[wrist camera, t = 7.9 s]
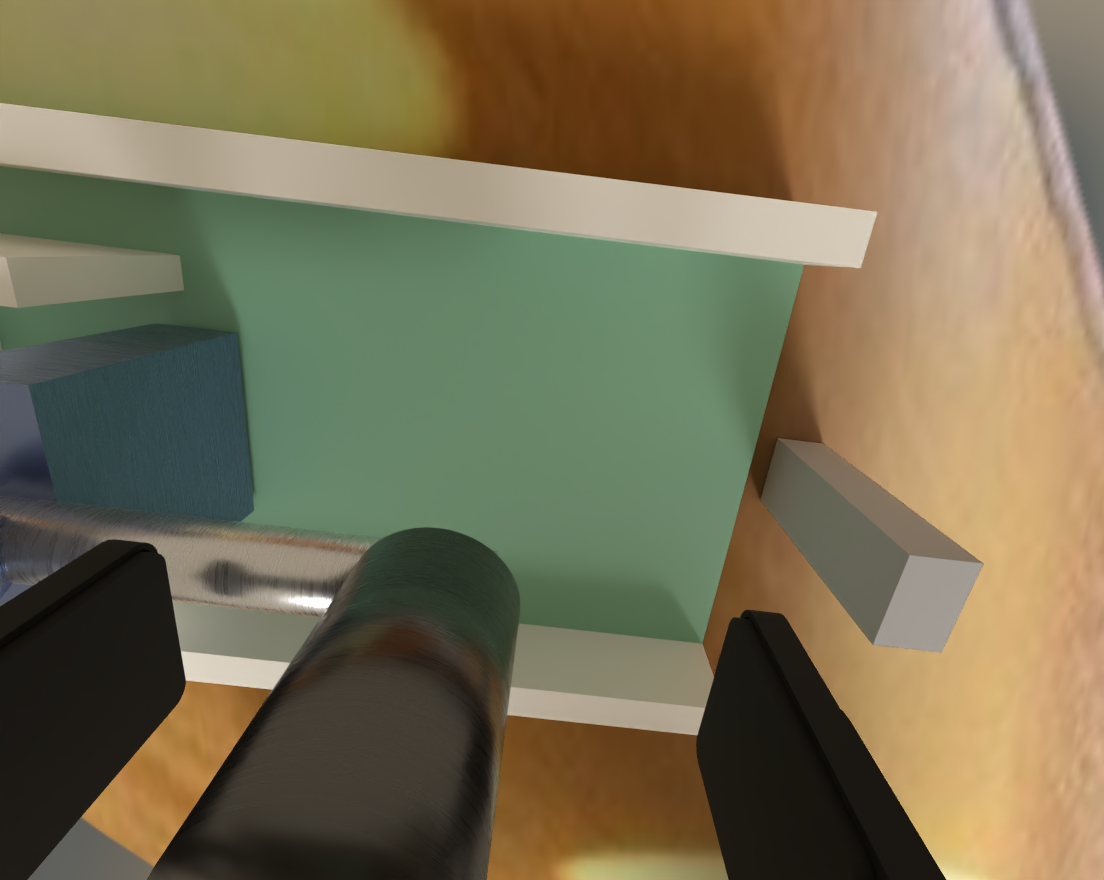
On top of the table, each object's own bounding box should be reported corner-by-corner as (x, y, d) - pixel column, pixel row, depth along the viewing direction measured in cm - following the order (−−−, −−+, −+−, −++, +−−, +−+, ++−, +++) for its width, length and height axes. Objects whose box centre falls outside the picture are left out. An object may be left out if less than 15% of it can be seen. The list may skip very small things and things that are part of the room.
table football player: (549, 369, 16) (502, 720, 4) (530, 541, 18) (461, 1103, 6) (153, 322, 15) (-1120, 546, 4) (180, 502, 17) (-588, 1003, 6)
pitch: (890, 232, 16) (1146, 219, 9) (757, 653, 21) (848, 848, 14) (-46, 117, 15) (-555, 6, 8) (68, 577, 21) (-180, 741, 14)
